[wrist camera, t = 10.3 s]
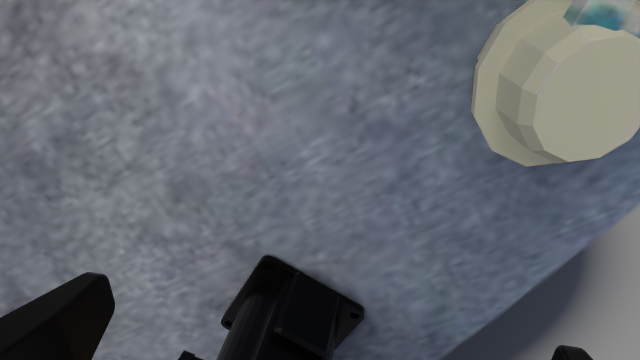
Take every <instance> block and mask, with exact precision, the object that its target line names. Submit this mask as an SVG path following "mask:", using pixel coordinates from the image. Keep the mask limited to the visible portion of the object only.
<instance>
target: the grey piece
mask: <svg viewBox="0 0 640 360" xmlns="http://www.w3.org/2000/svg"><path fill="white" fill-rule="evenodd" d="M477 59H478V62H477V64H476V66H475V73H474V85H473V96H472V107H471V112H472V114H473V116H474V118H475V120H476V122H477V123H478V125H479V127H480V129H481V131H482V133H483V135H484V137H485V139H486V141H487V143H488V145H489V147H490V149H491V150H492V151H494V152H496V153H498V154H500V155H502V156H504V157H506V158H509V159H511V160H513V161H515V162H517V163H519V164H521V165H523V166H526V167H528V166H536V165H544V164H552V163H557V164H558V163H566V162H575V161H583V160H591V159H597V158H600V157H602V156H604V155H605V154H607V153H609V152H610V151H612V150H614V149H615V148H617V147H619V146H620V145H622V144H624V143H625V142H627V141H629V140H630V139H631V138H632V137H633V136H634V134H635V133H636V132H637V130H638V129H639V128H640V0H528V1H527V2H526V3H524V4H523V5H522V6H520V7H519V8H518V9H517V10H515V11H514V12H513V13H511V14H510V15H509V16H507V17H506V18H505V19H503V20H502V21H501V23H499V24H498V23H497V24H496V26H495V28H494V29H493V31H492V33H491V35H490V36H489V38H488V40H487V41H486V43H485V45H484V47H483V48H482V50H481V52H480V54H479V55H478V57H477Z"/></svg>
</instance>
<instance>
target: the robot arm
mask: <svg viewBox="0 0 640 360" xmlns="http://www.w3.org/2000/svg"><path fill="white" fill-rule="evenodd" d="M266 264H269V265H271V266H267V265H266ZM114 309H115V301H114V297H113V294H112V290H111V286H110V283H109V279H108V277H107V276H106V275H104V274H98V273H92V272H87V273H84V274H82V275H80V276H78V277H76V278H74V279H72V280H70V281H69V282H67V283H65V284H63V285H61V286H59V287H57V288H55V289H53V290H52V291H50V292H48V293H46V294H44V295H42V296H40V297H38V298H36V299H35V300H33V301H31V302H29V303H27V304H25V305H23V306H21V307H20V308H18V309H16V310H14V311H12V312H10V313H8V314H6V315H4V316H3V317H1V318H0V360H91V359H92V357H93V355H94V353H95V351H96V349H97V347H98V345H99V343H100V340H101V338H102V336H103V334H104V332H105V330H106V328H107V326H108V324H109V322H110V319H111V317H112V315H113V313H114ZM353 312H356V313H358V314H355V313H353ZM363 318H364V308H363V307H362V306H361V305H359V304H357V303H355V302H354V301H352V300H350V299H348V298H346V297H345V296H343V295H341V294H339V293H337V292H336V291H334V290H332V289H330V288H328V287H327V286H325V285H323V284H321V283H319V282H318V281H316V280H314V279H312V278H310V277H309V276H307V275H305V274H303V273H301V272H300V271H298V270H296V269H294V268H292V267H291V266H289V265H287V264H285V263H283V262H282V261H280V260H278V259H276V258H274V257H272V256H269V255H266V256H263V257H262V258H261V259H260V261H259V263H258V264H257V266H256V267H255V269H254V270H253V272H252V273H251V275H250V276H249V278H248V279H247V281H246V282H245V284H244V285H243V287H242V288H241V290H240V291H239V293H238V294H237V296H236V297H235V299H234V300H233V302H232V303H231V305H230V306H229V308H228V310H227V311H226V313H225V314H224V316H223V318H222V320H221V324H222V326H223V327H224V328H226V329H228V330H230V331H229V333H228V335H227V338H226V340H225V342H224V344H223V346H222V348H221V351H220V353H219V355H218V357H217V359H216V360H332V357H333V352H334V350H335V349H336V348H337V347H338V346H339V344H340V343H341V342H342V341H343V340H344V339H345V338H346V337H347V336H348V335H349V334H350V333H351V332H352V331H353V330H354V328H355V327H356V326H357V325H358V324H359V323H360V322H361V321H362V320H363ZM230 321H231V322H230ZM178 360H203V359H200V358H198V357H195V354H193V353H190V352H187V351H183V353H182V354H181V356H180V358H179V359H178ZM551 360H593V359H592V358H591V357H590V356H589V355H588V354H587V352H585V351H584V350H583V349H581V348H577V347H571V346H564V345H560V346H558V347H557V348H556V350H555V352H554V355H553V357H552V359H551Z"/></svg>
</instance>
